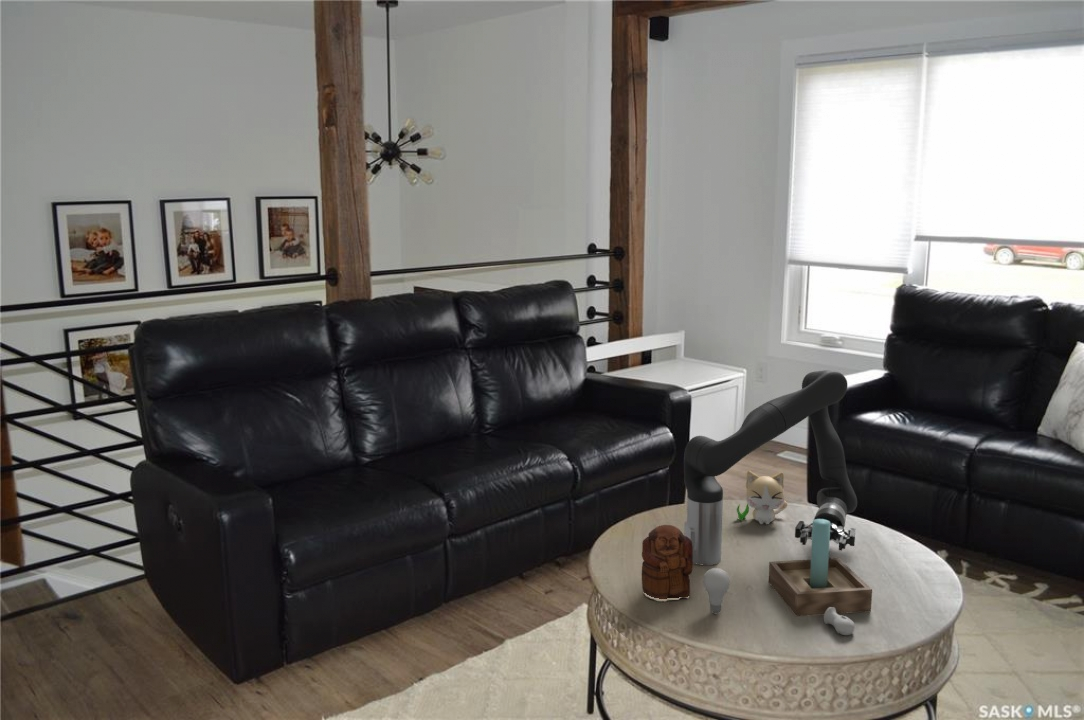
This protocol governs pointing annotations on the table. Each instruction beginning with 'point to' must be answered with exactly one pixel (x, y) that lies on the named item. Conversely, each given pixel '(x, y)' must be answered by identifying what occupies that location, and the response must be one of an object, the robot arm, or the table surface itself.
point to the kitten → (764, 497)
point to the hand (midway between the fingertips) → (822, 544)
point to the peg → (819, 553)
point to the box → (803, 600)
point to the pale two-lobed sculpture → (839, 621)
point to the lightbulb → (716, 587)
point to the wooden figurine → (666, 563)
